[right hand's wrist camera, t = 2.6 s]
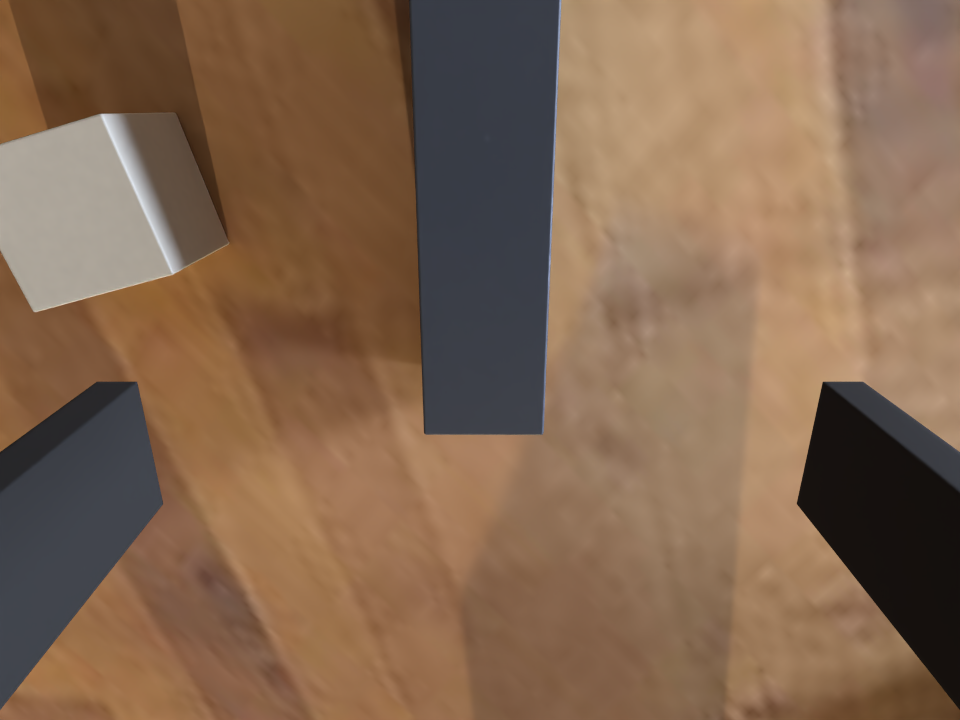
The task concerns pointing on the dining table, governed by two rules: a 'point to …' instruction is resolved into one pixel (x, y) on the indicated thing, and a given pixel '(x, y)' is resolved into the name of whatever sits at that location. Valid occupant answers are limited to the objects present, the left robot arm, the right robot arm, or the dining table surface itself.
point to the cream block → (102, 207)
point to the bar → (484, 208)
